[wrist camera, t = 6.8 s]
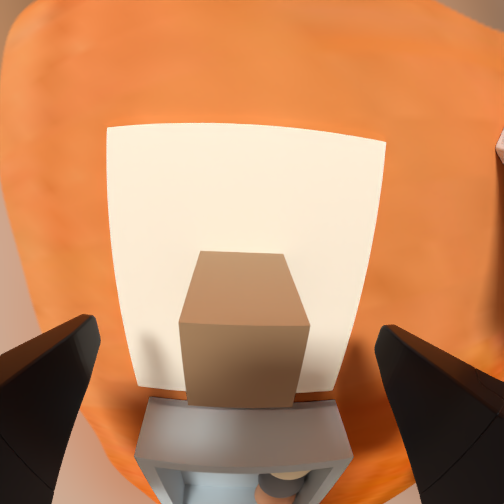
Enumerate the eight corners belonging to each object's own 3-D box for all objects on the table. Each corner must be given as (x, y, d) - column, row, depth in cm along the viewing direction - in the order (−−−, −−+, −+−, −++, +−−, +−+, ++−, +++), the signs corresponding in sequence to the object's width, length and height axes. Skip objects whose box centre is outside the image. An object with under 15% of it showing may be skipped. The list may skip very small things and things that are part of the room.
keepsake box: (297, 483, 18) (303, 521, 15) (176, 481, 18) (172, 520, 14) (334, 399, 14) (353, 457, 10) (149, 396, 14) (133, 456, 10)
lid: (329, 380, 14) (355, 459, 9) (141, 375, 14) (116, 456, 9) (376, 141, 10) (468, 150, 5) (115, 128, 9) (29, 126, 4)
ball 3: (289, 483, 17) (294, 513, 15) (252, 485, 17) (254, 516, 14) (296, 469, 16) (302, 502, 14) (254, 471, 16) (257, 505, 13)
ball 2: (292, 465, 16) (306, 497, 14) (251, 473, 16) (262, 507, 13) (300, 445, 15) (316, 481, 13) (254, 454, 15) (267, 493, 12)
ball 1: (306, 446, 15) (314, 484, 12) (258, 448, 15) (262, 488, 12) (316, 420, 14) (327, 462, 11) (263, 423, 14) (267, 468, 11)
